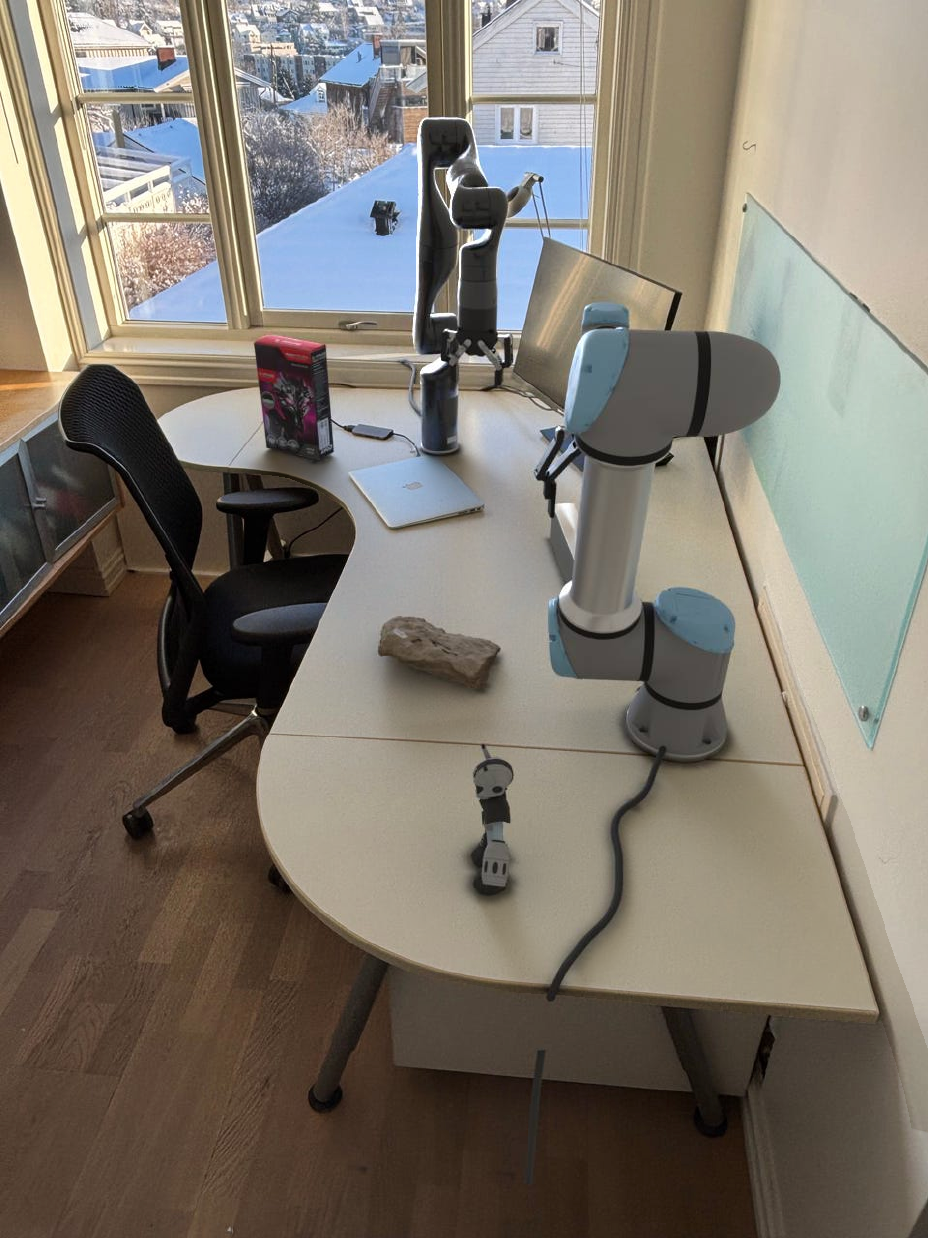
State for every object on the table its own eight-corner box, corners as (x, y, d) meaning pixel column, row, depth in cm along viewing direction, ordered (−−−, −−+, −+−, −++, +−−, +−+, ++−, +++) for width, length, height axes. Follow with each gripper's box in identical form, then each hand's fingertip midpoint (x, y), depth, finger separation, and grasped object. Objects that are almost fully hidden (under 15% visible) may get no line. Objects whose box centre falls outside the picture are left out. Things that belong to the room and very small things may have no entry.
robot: (515, 932, 112) (522, 815, 100) (475, 934, 111) (478, 816, 100) (502, 814, 128) (507, 701, 117) (467, 815, 128) (468, 702, 117)
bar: (596, 602, 173) (600, 563, 169) (572, 603, 173) (576, 564, 168) (571, 538, 194) (574, 502, 189) (549, 539, 194) (552, 503, 189)
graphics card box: (263, 448, 231) (250, 340, 216) (280, 439, 236) (269, 332, 221) (320, 462, 224) (310, 351, 209) (336, 452, 230) (328, 343, 214)
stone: (354, 663, 151) (360, 631, 149) (385, 632, 165) (392, 602, 162) (474, 706, 148) (483, 673, 145) (496, 671, 161) (504, 640, 159)
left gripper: (518, 299, 177) (515, 382, 186) (447, 293, 180) (447, 375, 189) (509, 310, 171) (506, 394, 180) (436, 304, 174) (436, 387, 183)
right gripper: (664, 390, 159) (649, 502, 171) (521, 393, 157) (516, 506, 169) (677, 405, 153) (661, 520, 165) (528, 408, 151) (522, 525, 162)
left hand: (476, 384), depth 184 cm, fingers open, 8 cm apart
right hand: (588, 513), depth 167 cm, fingers open, 13 cm apart
